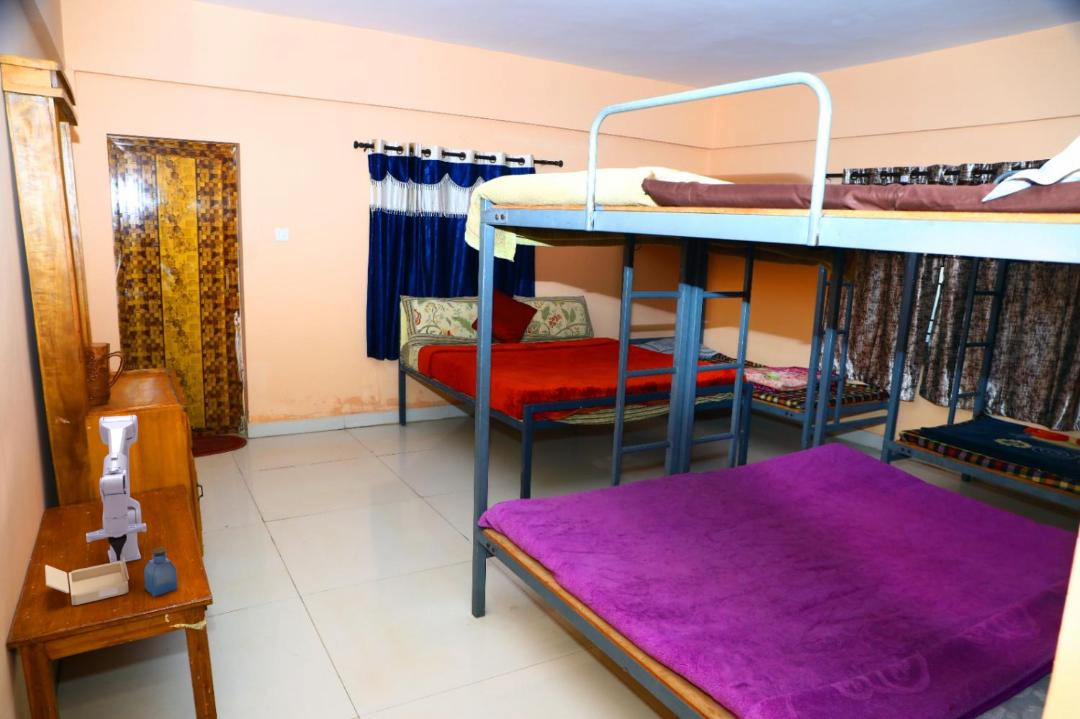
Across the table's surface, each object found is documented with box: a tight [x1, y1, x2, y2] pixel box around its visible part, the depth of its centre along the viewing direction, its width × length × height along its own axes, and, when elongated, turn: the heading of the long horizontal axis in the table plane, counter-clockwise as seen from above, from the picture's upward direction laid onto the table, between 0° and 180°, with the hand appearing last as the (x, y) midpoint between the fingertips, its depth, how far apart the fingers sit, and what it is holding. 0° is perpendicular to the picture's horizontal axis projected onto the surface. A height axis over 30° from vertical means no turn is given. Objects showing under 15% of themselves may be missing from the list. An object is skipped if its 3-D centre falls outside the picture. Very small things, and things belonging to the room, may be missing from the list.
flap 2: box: [121, 552, 130, 580], centre depth 199 cm, size 12×1×6 cm, turn 36°
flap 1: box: [44, 564, 70, 594], centre depth 190 cm, size 12×1×6 cm
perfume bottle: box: [143, 546, 178, 598], centre depth 197 cm, size 6×6×12 cm
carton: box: [68, 561, 129, 606], centre depth 196 cm, size 15×13×3 cm
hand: (118, 559), depth 198 cm, fingers closed, pressing on flap 2
